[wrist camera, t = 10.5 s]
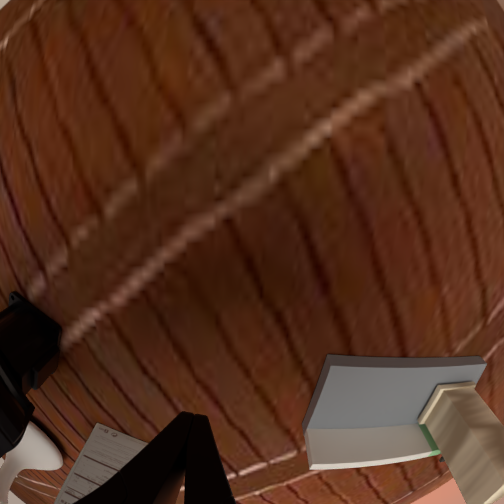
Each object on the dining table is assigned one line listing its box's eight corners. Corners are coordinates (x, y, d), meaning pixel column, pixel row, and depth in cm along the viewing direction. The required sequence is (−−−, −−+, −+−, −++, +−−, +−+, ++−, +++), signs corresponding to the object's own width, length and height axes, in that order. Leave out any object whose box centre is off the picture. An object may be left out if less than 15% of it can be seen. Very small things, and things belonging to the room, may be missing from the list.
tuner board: (302, 423, 23) (308, 470, 18) (327, 354, 21) (343, 402, 16) (446, 415, 24) (466, 447, 18) (479, 355, 22) (508, 386, 16)
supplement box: (154, 474, 27) (130, 556, 15) (97, 452, 26) (62, 527, 14) (161, 446, 25) (131, 545, 13) (96, 419, 24) (48, 507, 12)
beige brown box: (408, 434, 22) (450, 528, 10) (437, 385, 20) (502, 484, 8) (444, 428, 22) (489, 509, 10) (473, 381, 20) (536, 463, 8)
